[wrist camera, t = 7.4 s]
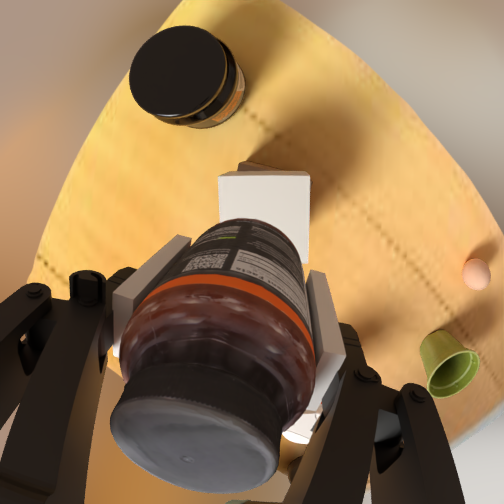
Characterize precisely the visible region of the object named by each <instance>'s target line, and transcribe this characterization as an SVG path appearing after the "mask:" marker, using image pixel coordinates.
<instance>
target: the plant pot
mask: <svg viewBox="0 0 504 504" xmlns="http://www.w3.org/2000/svg"><path fill="white" fill-rule="evenodd" d="M420 355H421V358H422V361H423V364H424V367H425V370H426V374H427V391H428V392H429V393H430V394H431V396H432V397H434V398H438V399H442V398H447V397H451V396H453V395H455V394H457V393H459V392H460V391H462V390H463V389H464V388H465V387H466V386H468V385H469V384H470V382H471V381H472V380H473V379H474V377H475V376H476V374H477V372H478V369H479V366H480V358H479V355H478V354H477V353H476V352H475V351H473V350H469V349H467V348H465V347H464V346H463V345H462V344H460V343H459V342H458V341H457V340H456V339H455V338H454V337H453V336H452V335H451V334H449V333H448V332H447V331H445V330H438V331H436V332H434V333H432V334H429V335H428V336H427V337H426V338H425V339H424V341H423V342H422V344H421V346H420Z"/></svg>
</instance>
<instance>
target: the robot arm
mask: <svg viewBox="0 0 504 504" xmlns="http://www.w3.org/2000/svg"><path fill="white" fill-rule="evenodd" d="M191 239H192V238H189V237H185V236H181V235H176V236H175V237H174V238H173V239H172V240H171V241H169V242H168V243H167V244H166V245H165V246H164V247H163V248H161V249H160V250H159V251H158V252H157V253H156V254H155V255H153V256H152V257H151V258H150V259H149V260H148V261H147V262H146V263H144V264H143V265H142V266H141V267H140V268H139V269H138V270H137V269H134V268H131V267H126V268H123V269H120V270H118V271H117V272H116V273H115V274H113V276H111V277H110V278H109V279H108V280H106V278H105V277H104V275H102V274H101V273H99V272H96V271H92V270H82V271H77V272H75V273H73V274H71V275H70V276H69V283H70V299H69V300H61V299H55V298H52V296H51V290H50V288H49V287H48V286H46V285H45V284H41V283H30V284H26V285H25V286H23V287H21V288H20V289H18V290H17V291H16V292H14V293H13V294H12V295H11V296H9V297H8V298H7V299H5V300H4V301H3V302H2V303H0V430H1V428H2V427H3V425H4V424H5V423H6V421H7V420H8V418H9V417H10V416H11V414H12V413H13V411H14V410H15V409H16V407H17V406H18V404H19V403H20V404H19V407H18V410H17V412H16V415H15V418H14V421H13V424H12V426H11V429H10V432H9V435H8V438H7V441H6V444H5V448H4V451H3V454H2V457H1V461H0V504H84V499H85V488H86V479H87V470H88V462H89V455H90V448H91V441H92V435H93V429H94V424H95V418H96V413H97V408H98V402H99V397H100V393H101V388H102V383H103V379H104V375H105V370H106V366H107V362H108V356H107V351H108V350H109V349H110V347H111V346H112V345H113V356H115V357H118V358H119V348H120V342H121V337H122V334H123V331H124V329H125V327H126V325H127V323H128V321H129V319H130V318H131V316H132V315H133V313H134V311H135V310H136V309H137V308H138V306H139V305H140V304H141V303H142V302H143V301H144V299H145V298H146V296H147V295H148V294H149V293H150V292H151V291H152V289H153V288H154V287H155V286H156V285H157V284H158V283H159V282H160V280H161V279H162V278H163V277H164V276H165V275H166V274H167V273H168V271H169V270H170V269H171V268H172V267H173V266H174V265H175V263H176V262H177V261H178V260H179V259H180V258H181V257H182V256H183V254H184V253H185V252H186V251H187V250H188V249H189V248H190V245H191ZM306 292H307V299H308V307H309V314H310V321H311V329H312V337H313V345H314V355H315V365H316V373H315V376H316V377H315V387H314V392H313V395H312V398H311V400H310V403H309V406H308V407H307V408H306V410H311V411H316V410H317V409H318V407H319V405H320V403H321V402H322V408H323V411H322V413H321V414H320V416H319V417H318V419H317V421H316V422H315V424H314V425H313V427H312V429H311V430H310V431H311V432H313V433H312V435H311V438H310V440H309V443H308V445H307V448H306V450H305V453H304V455H303V456H302V457H299V458H297V459H296V460H294V461H293V462H292V463H291V464H290V465H289V467H288V479H289V481H290V484H291V485H290V488H289V490H288V492H287V494H286V496H285V498H284V501H283V502H282V503H277V502H258V501H251V500H231V501H228V502H227V503H226V504H362V502H363V498H364V493H365V489H366V484H367V480H368V475H369V472H370V485H371V500H372V504H465V500H464V496H463V492H462V488H461V484H460V481H459V477H458V473H457V470H456V466H455V463H454V460H453V456H452V453H451V450H450V447H449V443H448V440H447V437H446V434H445V431H444V428H443V425H442V423H441V420H440V417H439V414H438V411H437V409H436V406H435V403H434V401H433V398H432V396H431V394H430V393H429V392H428V391H427V390H426V389H425V388H424V387H423V386H421V385H418V384H414V383H407V384H405V385H404V386H403V387H402V389H401V390H400V391H397V390H395V389H392V388H389V387H387V386H384V385H382V381H381V377H380V376H379V374H378V373H377V372H376V371H375V370H374V369H373V368H371V367H369V366H367V363H366V360H365V357H364V354H363V350H362V348H361V344H360V342H359V338H358V335H357V332H356V331H355V330H354V329H353V328H352V326H351V325H348V324H344V323H339V322H338V320H337V316H336V312H335V308H334V304H333V301H332V297H331V293H330V289H329V286H328V282H327V279H326V275H325V273H322V272H318V271H314V270H310V273H309V276H308V279H307V282H306ZM24 334H25V336H26V338H25V339H24V340H23V341H22V342H21V340H20V338H21V337H22V336H23V335H24ZM403 441H404V443H403Z"/></svg>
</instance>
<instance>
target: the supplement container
mask: <svg viewBox="0 0 504 504" xmlns="http://www.w3.org/2000/svg"><path fill="white" fill-rule="evenodd" d="M129 85H130V90H131V93H132V95H133V97H134V99H135V101H136V102H137V104H138V105H139V106H140V107H141V108H142V109H143V110H145V111H146V112H148V113H150V114H152V115H153V116H154V117H156V118H157V119H159V120H161V121H163V122H165V123H168V124H172V125H177V126H187V127H191V128H196V129H207V128H212V127H215V126H218V125H220V124H222V123H224V122H226V121H227V120H229V119H230V118H231V117H232V116H233V115H234V114H235V113H236V112H237V111H238V109H239V108H240V106H241V105H242V102H243V100H244V97H245V92H246V81H245V76H244V74H243V71H242V69H241V68H240V66H239V65H238V63H237V62H236V60H235V57H234V55H233V53H232V51H231V50H230V49H229V47H228V46H227V45H226V44H225V43H224V42H223V41H221V40H220V39H218V38H216V37H214V36H213V35H212V34H211V33H209V32H208V31H206V30H204V29H201V28H199V27H195V26H175V27H171V28H167V29H165V30H162V31H160V32H158V33H157V34H155V35H154V36H152V37H151V38H150V39H148V40H147V41H146V42H145V43H144V44H143V45H142V47H141V48H140V49H139V50H138V52H137V54H136V55H135V57H134V59H133V62H132V64H131V68H130V73H129Z"/></svg>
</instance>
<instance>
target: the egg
mask: <svg viewBox="0 0 504 504" xmlns="http://www.w3.org/2000/svg"><path fill="white" fill-rule="evenodd" d="M462 278H463V280H464V283H465V284H466V285H467V286H468V287H469V288H471V289H473V290H482V289H484V288H486V287H487V286H488V284H489V283H490V279H491V273H490V270H489V267H488V266H487V264H486V263H485V262H484V261H482V260H481V259H477V258H473V259H470V260H469V261H467V262H466V263H465V265H464V267H463V270H462Z"/></svg>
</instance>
